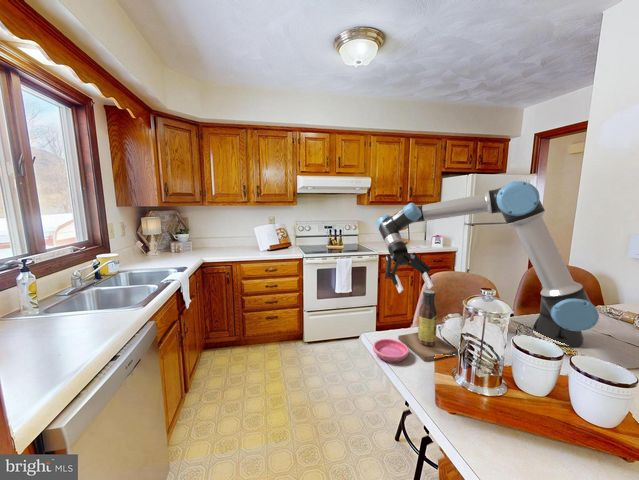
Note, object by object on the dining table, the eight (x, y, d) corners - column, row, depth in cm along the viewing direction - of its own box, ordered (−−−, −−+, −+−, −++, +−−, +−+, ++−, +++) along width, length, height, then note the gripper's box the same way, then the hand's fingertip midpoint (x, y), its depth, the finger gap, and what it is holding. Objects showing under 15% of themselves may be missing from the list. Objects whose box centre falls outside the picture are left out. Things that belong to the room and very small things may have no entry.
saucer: (397, 344, 104) (398, 336, 104) (415, 362, 92) (415, 353, 92) (367, 348, 102) (367, 340, 101) (381, 367, 90) (381, 358, 89)
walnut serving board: (428, 334, 112) (428, 330, 111) (457, 354, 96) (458, 350, 96) (398, 339, 108) (398, 335, 108) (424, 361, 93) (424, 357, 92)
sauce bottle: (437, 347, 98) (440, 295, 95) (419, 346, 99) (422, 294, 96) (433, 338, 105) (436, 289, 102) (416, 337, 106) (419, 288, 103)
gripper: (416, 249, 124) (438, 290, 112) (367, 252, 117) (384, 297, 105) (424, 239, 118) (448, 281, 106) (373, 242, 111) (392, 288, 99)
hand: (416, 289), depth 105 cm, fingers open, 13 cm apart
